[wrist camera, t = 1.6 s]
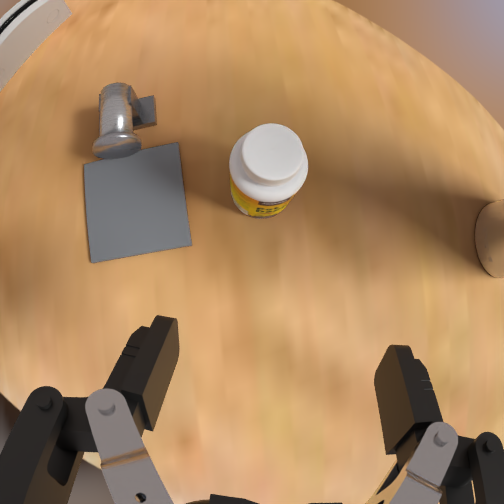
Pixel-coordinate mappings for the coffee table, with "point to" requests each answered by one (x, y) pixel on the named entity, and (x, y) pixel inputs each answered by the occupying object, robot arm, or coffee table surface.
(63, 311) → the coffee table surface
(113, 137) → the shaft stub
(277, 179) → the supplement bottle
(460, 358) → the coffee table surface
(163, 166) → the plate
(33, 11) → the grey rounded slab
